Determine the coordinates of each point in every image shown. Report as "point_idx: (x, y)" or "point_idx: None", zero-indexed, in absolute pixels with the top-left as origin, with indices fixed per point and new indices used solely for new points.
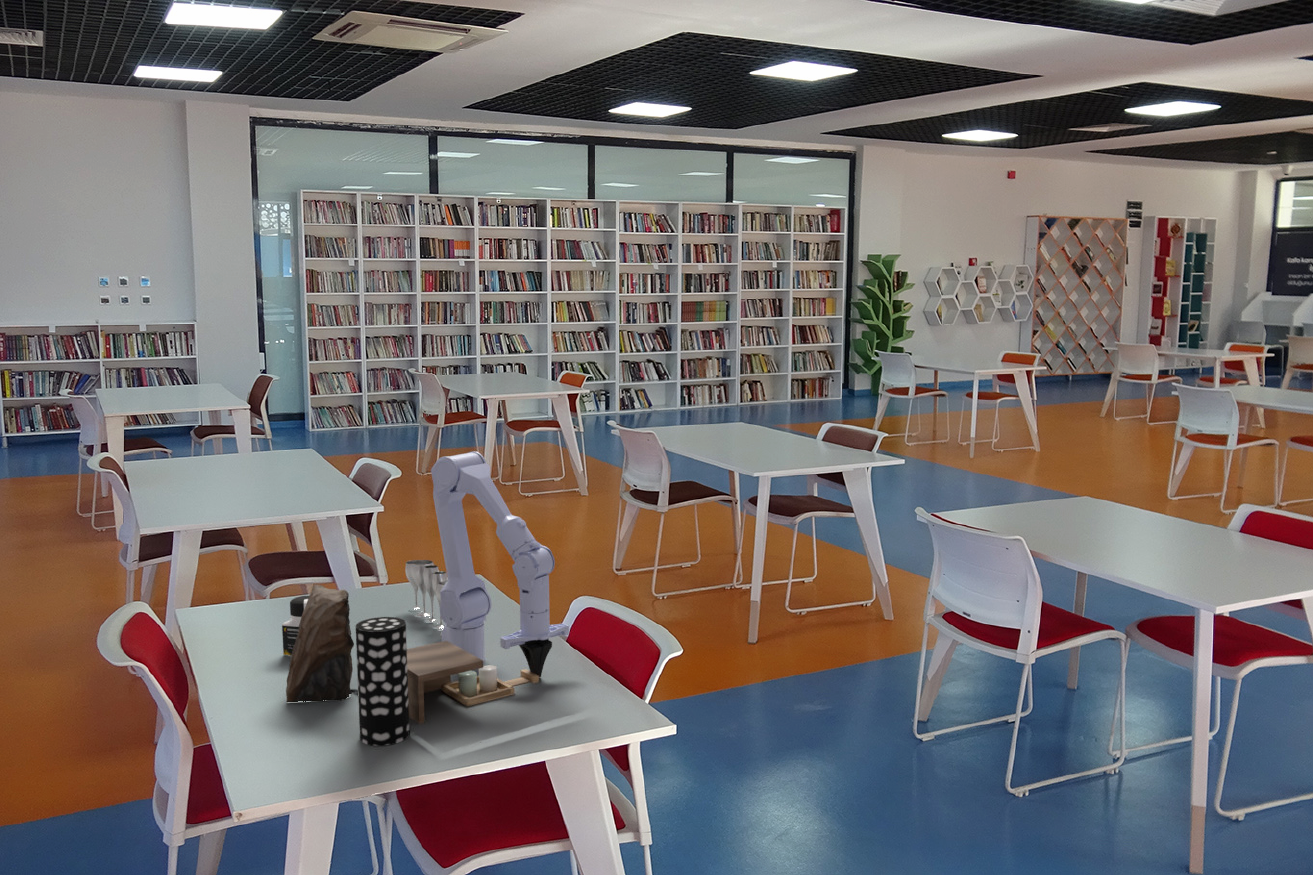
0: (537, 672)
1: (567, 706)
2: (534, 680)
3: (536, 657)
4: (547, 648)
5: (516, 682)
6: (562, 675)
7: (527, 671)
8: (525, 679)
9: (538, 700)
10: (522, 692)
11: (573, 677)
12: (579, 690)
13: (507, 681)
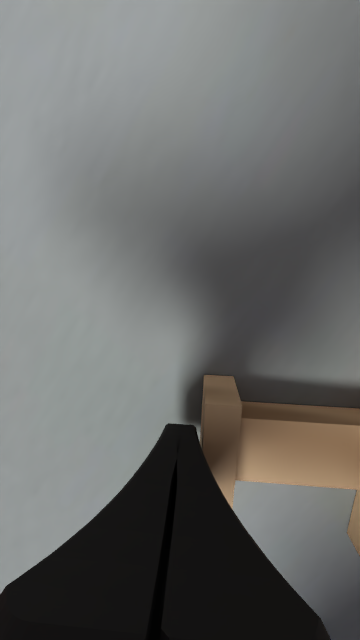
0: (192, 440)
1: (261, 21)
2: (235, 395)
3: (216, 527)
4: (78, 584)
5: (306, 444)
6: (42, 419)
7: None
8: (245, 447)
9: (320, 228)
10: (305, 371)
11: (12, 369)
12: (71, 205)
13: (328, 481)
